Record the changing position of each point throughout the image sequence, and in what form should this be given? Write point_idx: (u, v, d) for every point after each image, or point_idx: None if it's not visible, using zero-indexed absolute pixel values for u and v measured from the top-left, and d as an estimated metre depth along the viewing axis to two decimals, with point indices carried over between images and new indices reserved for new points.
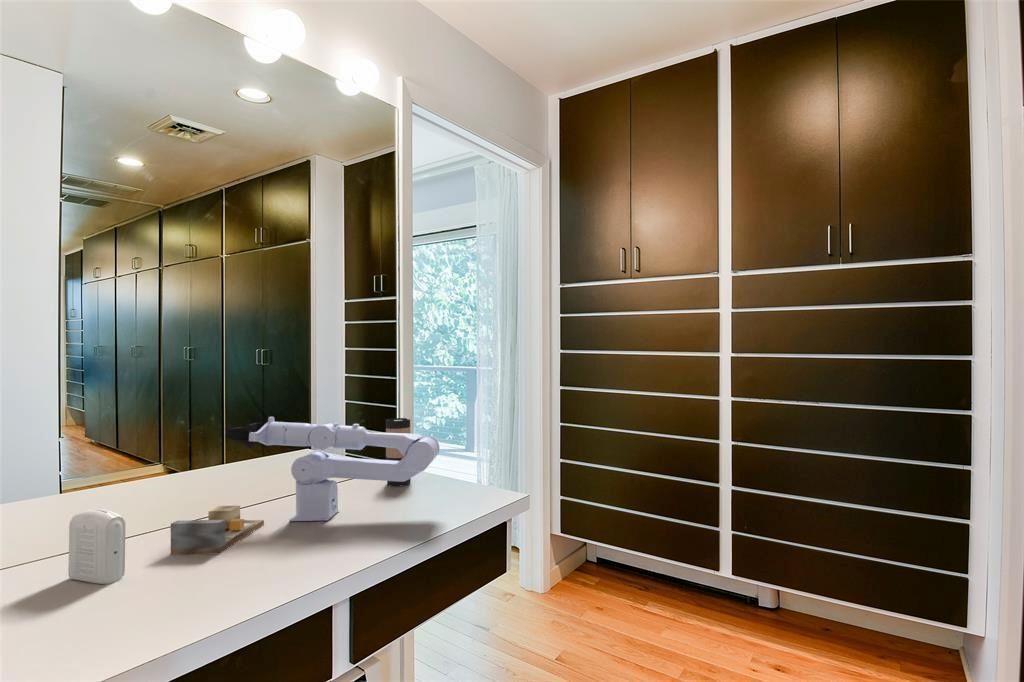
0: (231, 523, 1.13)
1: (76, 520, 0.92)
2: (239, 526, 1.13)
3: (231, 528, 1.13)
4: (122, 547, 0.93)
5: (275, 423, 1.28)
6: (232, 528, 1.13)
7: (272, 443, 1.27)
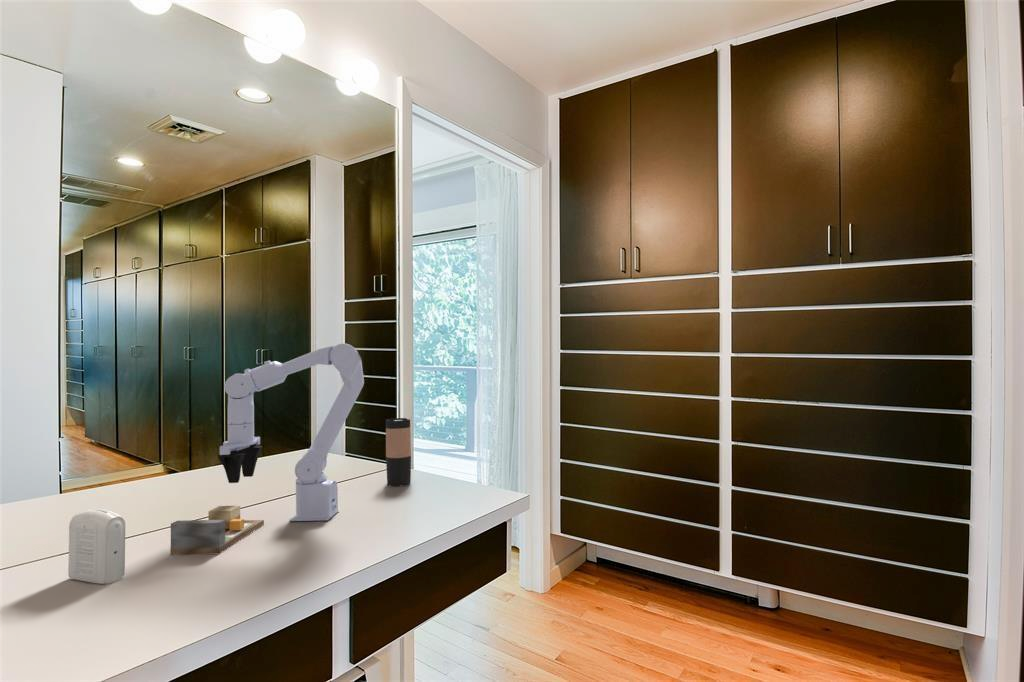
0: (231, 523, 1.13)
1: (76, 520, 0.92)
2: (239, 526, 1.13)
3: (231, 528, 1.13)
4: (122, 547, 0.93)
5: None
6: (232, 528, 1.13)
7: (246, 437, 1.23)
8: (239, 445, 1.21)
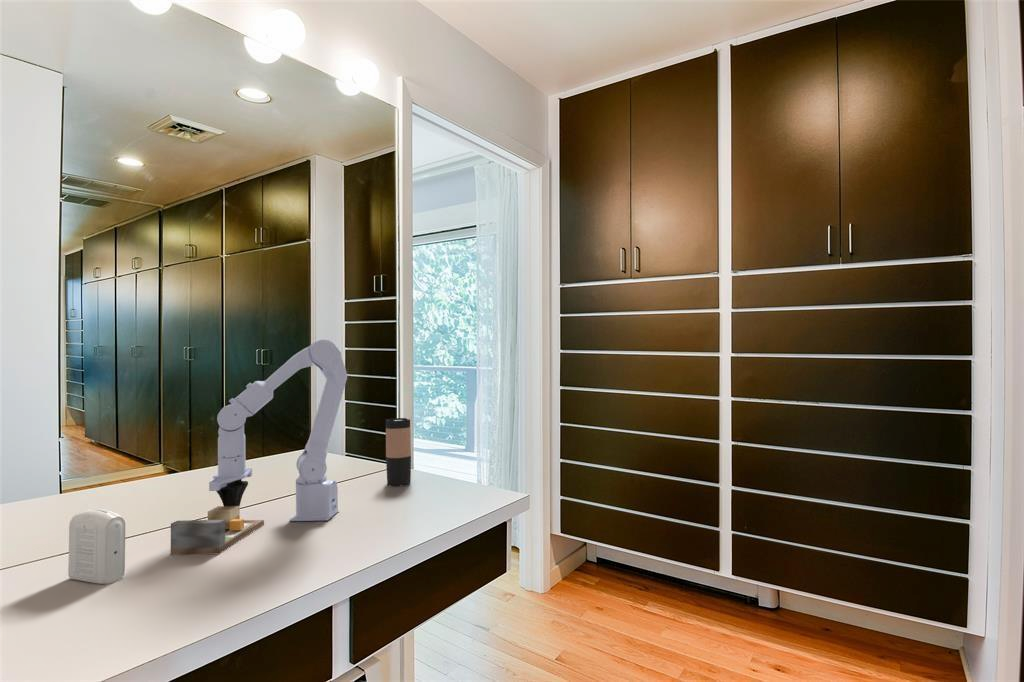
0: (231, 523, 1.13)
1: (76, 520, 0.92)
2: (239, 526, 1.13)
3: (231, 528, 1.13)
4: (122, 547, 0.93)
5: None
6: (232, 528, 1.13)
7: (237, 471, 1.19)
8: (229, 480, 1.17)
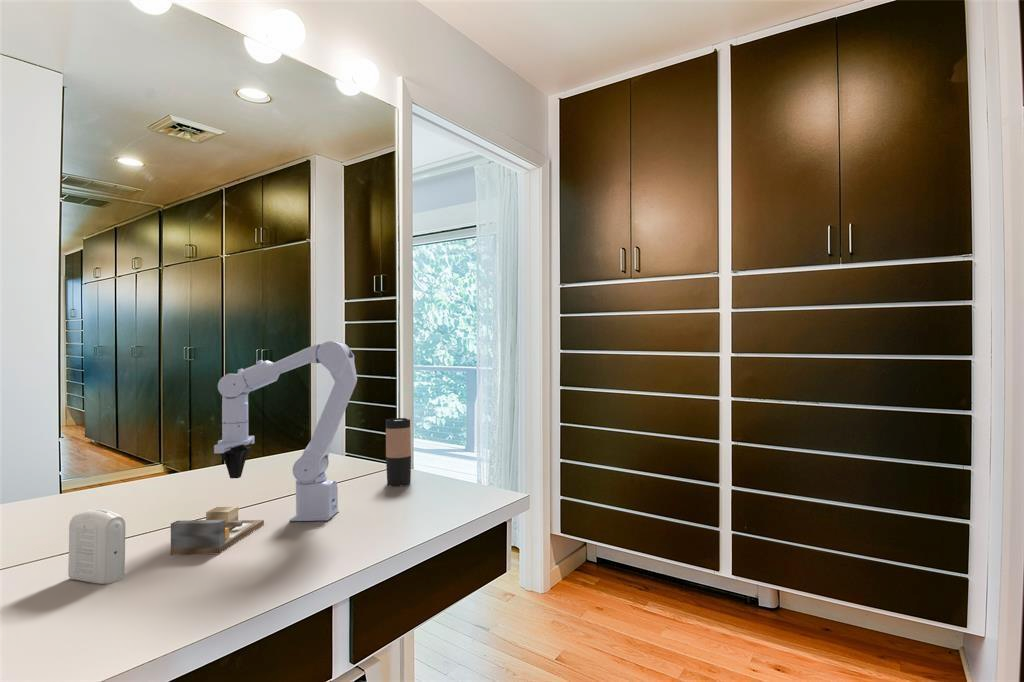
0: None
1: (76, 520, 0.92)
2: None
3: None
4: (122, 547, 0.93)
5: (222, 435, 1.26)
6: None
7: (240, 436, 1.25)
8: (233, 444, 1.23)
